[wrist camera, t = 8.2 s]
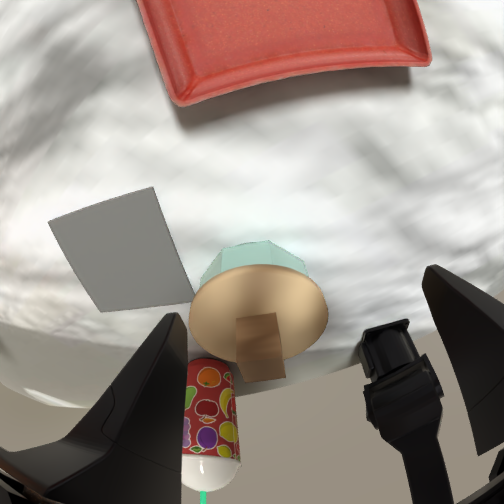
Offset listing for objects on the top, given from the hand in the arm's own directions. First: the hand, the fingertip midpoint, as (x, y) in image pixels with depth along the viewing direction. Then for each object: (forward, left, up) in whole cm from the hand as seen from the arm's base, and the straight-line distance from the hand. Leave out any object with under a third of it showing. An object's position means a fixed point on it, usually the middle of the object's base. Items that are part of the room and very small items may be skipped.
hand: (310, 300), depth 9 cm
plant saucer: (-3, -16, -14) cm, 21 cm away
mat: (+15, +5, -13) cm, 20 cm away
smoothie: (+12, +24, -13) cm, 30 cm away
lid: (+3, +10, -8) cm, 13 cm away
